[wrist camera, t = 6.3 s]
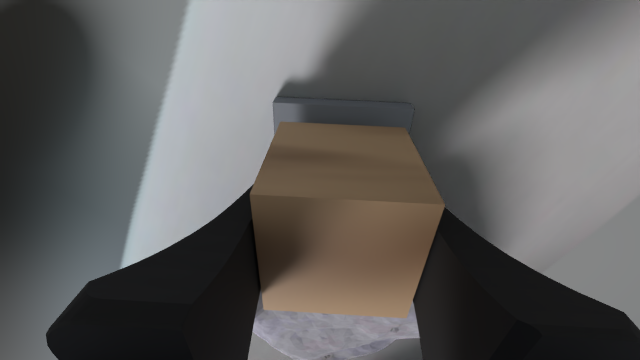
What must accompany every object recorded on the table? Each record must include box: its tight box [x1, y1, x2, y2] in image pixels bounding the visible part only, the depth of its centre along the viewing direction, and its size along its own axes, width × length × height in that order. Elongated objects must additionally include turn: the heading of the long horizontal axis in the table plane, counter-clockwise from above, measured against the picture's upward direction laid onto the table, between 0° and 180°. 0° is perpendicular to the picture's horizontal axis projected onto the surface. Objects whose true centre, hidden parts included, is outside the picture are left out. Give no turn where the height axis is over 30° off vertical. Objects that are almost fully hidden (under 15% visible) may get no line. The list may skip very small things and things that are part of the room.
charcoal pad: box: [273, 97, 415, 134], centre depth 14 cm, size 6×6×1 cm
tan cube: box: [250, 122, 445, 318], centre depth 11 cm, size 5×5×5 cm
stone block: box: [253, 291, 420, 360], centre depth 18 cm, size 12×5×10 cm
